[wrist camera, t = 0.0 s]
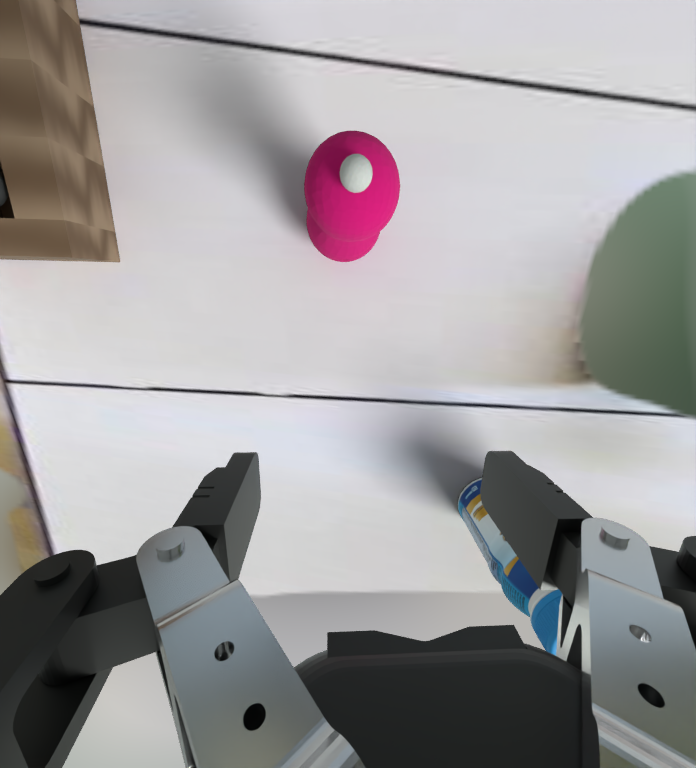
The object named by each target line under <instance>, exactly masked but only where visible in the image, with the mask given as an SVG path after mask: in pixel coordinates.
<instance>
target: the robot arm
mask: <svg viewBox="0 0 696 768" xmlns="http://www.w3.org/2000/svg"><path fill="white" fill-rule="evenodd" d="M480 496H481V501H482V505H483V507H484V509H485V510H486V512H487V513H488V514H489V516H490V517H491V519H492V520H493V522H494V523H495V525H496V526H497V528H498V529H499V530H500V532H501V533H502V535H503V536H504V538H505V539H506V541H507V542H508V544H509V545H510V546H511V548H512V549H513V551H514V552H515V554H516V555H517V557H518V558H519V560H520V561H521V562H522V564H523V565H524V567H525V568H526V570H527V571H528V573H529V574H530V576H531V577H532V579H533V580H534V581H535V583H536V584H537V586H538V587H539V589H540V590H556V589H559V590H560V591H561V593H562V597H561V600H560V605H559V619H558V634H557V649H556V656H555V655H554V654H551V653H549V652H547V651H545V650H542V649H540V648H537V647H534V646H531V645H527V644H524V643H523V641H522V640H521V638H520V636H519V634H518V632H517V630H516V629H515V627H514V625H502V626H476V627H467V628H464V629H461V630H459V631H456V632H453V633H450V634H447V635H445V636H441V637H439V638H436V639H434V640H430V641H419V640H414V639H410V638H406V637H401V636H397V635H392V634H388V633H383V632H378V631H354V632H353V631H352V632H329V633H328V641H327V642H328V644H327V645H328V646H327V647H328V648H327V650H326V651H323V652H320V653H318V654H316V655H314V656H312V657H310V658H308V659H306V660H305V661H303V662H302V663H300V664H298V665H297V666H296V667H293V666H292V665H291V663H290V661H289V659H288V658H287V656H286V655H285V653H284V651H283V650H282V648H281V646H280V645H279V643H278V641H277V640H276V638H275V636H274V635H273V633H272V632H271V630H270V628H269V627H268V625H267V624H266V622H265V620H264V619H263V617H262V615H261V614H260V612H259V610H258V609H257V607H256V606H255V604H254V602H253V601H252V599H251V597H250V596H249V594H248V593H247V591H246V589H245V588H244V586H243V585H242V583H241V582H240V581H239V580H238V578H239V574H240V571H241V568H242V565H243V561H244V558H245V555H246V552H247V548H248V545H249V542H250V539H251V535H252V532H253V529H254V526H255V522H256V519H257V516H258V512H259V508H260V500H261V489H260V474H259V459H258V454H257V453H256V452H250V453H234V454H233V455H232V457H231V459H230V460H229V462H228V464H227V466H226V467H222V468H216V469H214V470H213V471H212V472H210V473H209V474H207V475H206V476H205V477H204V478H203V480H202V482H201V483H200V485H199V486H198V489H196V491H195V493H194V494H193V497H192V498H191V499H190V500H189V502H188V503H187V505H186V507H185V508H184V510H183V511H182V513H181V514H180V516H179V518H178V519H177V521H176V522H175V524H174V525H173V527H172V528H169V529H166V530H164V531H161V532H159V533H157V534H156V535H154V536H152V537H151V538H150V539H148V540H147V541H146V542H145V543H144V544H143V545H142V546H141V548H140V549H139V551H138V553H137V555H135V556H132V557H128V558H125V559H121V560H117V561H113V562H109V563H105V564H101V565H97V566H96V562H95V558H94V556H93V554H92V553H90V552H88V551H85V550H72V551H66V552H62V553H59V554H56V555H53V556H51V557H48V558H46V559H44V560H42V561H40V562H38V563H37V564H35V565H33V566H32V567H30V568H29V569H27V570H26V571H25V572H24V573H22V574H21V575H20V576H19V577H18V578H17V579H16V580H15V581H14V582H13V583H12V584H11V585H10V586H9V587H8V588H7V589H6V590H5V591H4V592H3V593H2V594H1V595H0V768H62V766H63V765H64V763H65V761H66V759H67V757H68V755H69V753H70V751H71V749H72V747H73V745H74V743H75V741H76V739H77V737H78V735H79V733H80V731H81V729H82V727H83V725H84V723H85V721H86V719H87V717H88V715H89V713H90V711H91V709H92V707H93V705H94V704H95V701H96V700H97V698H98V696H99V694H100V692H101V690H102V688H103V686H104V684H105V682H106V679H107V678H108V676H109V674H110V672H111V670H112V668H113V667H114V666H117V665H120V664H123V663H125V662H128V661H131V660H134V659H137V658H140V657H142V656H145V655H148V654H151V653H153V652H156V656H157V660H158V663H159V667H160V671H161V674H162V678H163V682H164V685H165V689H166V693H167V696H168V700H169V704H170V707H171V711H172V715H173V718H174V722H175V726H176V730H177V734H178V738H179V742H180V746H181V750H182V755H183V759H184V763H185V767H186V768H696V536H690V537H687V538H685V539H684V540H683V543H682V545H681V548H680V551H679V552H676V551H671V550H666V549H661V548H656V547H651V546H649V545H648V543H647V542H646V541H645V540H644V539H643V538H642V537H641V536H640V535H639V534H637V533H636V532H634V531H633V530H631V529H629V528H627V527H626V526H624V525H621V524H619V523H616V522H614V521H610V520H607V519H602V518H593V517H592V516H591V515H590V514H588V513H587V512H586V511H585V510H584V509H583V508H582V507H581V506H580V505H578V504H577V503H576V502H575V501H574V500H573V499H572V498H571V497H569V496H568V495H567V494H566V493H563V490H562V489H560V488H559V487H558V486H557V485H554V482H553V481H551V480H550V479H549V478H548V477H547V476H546V475H545V474H544V473H542V472H540V471H538V470H537V469H535V468H533V467H531V466H529V465H527V464H526V463H525V462H523V461H522V460H521V459H520V458H519V457H518V456H517V455H516V454H515V453H514V452H512V451H489V452H488V453H487V455H486V458H485V463H484V470H483V476H482V482H481V488H480Z"/></svg>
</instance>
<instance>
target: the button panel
mask: <svg viewBox="0 0 696 768" xmlns="http://www.w3.org/2000/svg"><path fill="white" fill-rule="evenodd" d="M0 167H1V168H2V170H3V173H4V177H5V181H6V185H7V189H8V193H9V194H8V198H7V200H6V202H5V203H4V204H3V205H2V206H1V207H0V259H12V260H52V261H92V262H120V258H119V252H118V246H117V240H116V234H115V228H114V223H113V217H112V211H111V205H110V199H109V193H108V187H107V181H106V176H105V170H104V164H103V158H102V152H101V146H100V140H99V134H98V129H97V123H96V117H95V111H94V105H93V99H92V93H91V87H90V81H89V76H88V70H87V64H86V58H85V52H84V46H83V40H82V34H81V29H80V23H79V17H78V11H77V5H76V0H0Z"/></svg>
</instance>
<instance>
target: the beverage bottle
mask: <svg viewBox="0 0 696 768" xmlns="http://www.w3.org/2000/svg"><path fill="white" fill-rule="evenodd" d="M481 482H482V478H480V479H477V480H475V481H473V482H471V483H470V484H468V485H467V486H466V487H465V488H464V490H463V491H462V492H461V494H460V497H459V500H458V510H459V513H460V515H461V517H462V519H463V520H464V522H465V524H466V525H467V527H468V529H469V531H470V532H471V534H472V536H473V538H474V540H475V542H476V543H477V545H478V547H479V549H480V551H481V552H482V554H483V556H484V558H485V560H486V561H487V563H488V567H489V569H490V571H491V573H492V575H493V576H494V578H495V579H496V580H497V581H498V582H499V583H500V584H501V586H502V589H503V592H504V594H505V595H506V597H507V598H508V600H509V601H510V602H512V604H513V605H514V606H515V607H516V608H518V609H519V610H520V611H521V612H523V613H524V614H526V615H527V616H529V617H530V620H531V623H532V627H533V629H534V631H535V633H536V634H537V636H538V638H539V640H540V641H541V643H542V645H543V647H544V648H545V650H546V651H547V652H549V653H551V654H554V655H555V656H556V649H557V634H558V619H559V605H560V600H561V597H562V593H561V591H560V590H559V589H556V590H540V589H539V587H538V586H537V584H536V583H535V581H534V580H533V579H532V577H531V576H530V574H529V573H528V571H527V570H526V568H525V567H524V565H523V564H522V562H521V561H520V560H519V558H518V557H517V555H516V554H515V552H514V551H513V549H512V548H511V546H510V545H509V544H508V542H507V541H506V539H505V538H504V536H503V535H502V533H501V532H500V530H499V529H498V528H497V526H496V525H495V523H494V522H493V520H492V519H491V517H490V516H489V514H488V513H487V512H486V510H485V509H484V507H483V505H482V501H481V496H480V488H481Z"/></svg>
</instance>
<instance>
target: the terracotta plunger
mask: <svg viewBox="0 0 696 768" xmlns="http://www.w3.org/2000/svg"><path fill="white" fill-rule="evenodd" d="M8 194H9V193H8V189H7V185H6V181H5V177H4V173H3V170H2V168H1V167H0V207H1V206H2V205H3V204H4V203H5V202H6V200H7V198H8Z"/></svg>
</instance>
